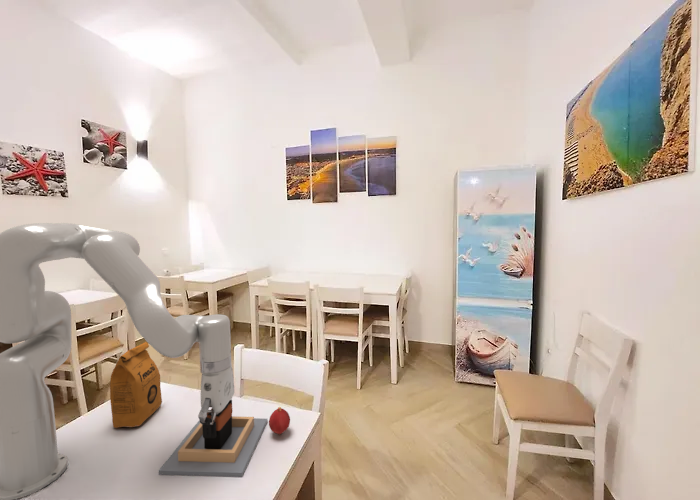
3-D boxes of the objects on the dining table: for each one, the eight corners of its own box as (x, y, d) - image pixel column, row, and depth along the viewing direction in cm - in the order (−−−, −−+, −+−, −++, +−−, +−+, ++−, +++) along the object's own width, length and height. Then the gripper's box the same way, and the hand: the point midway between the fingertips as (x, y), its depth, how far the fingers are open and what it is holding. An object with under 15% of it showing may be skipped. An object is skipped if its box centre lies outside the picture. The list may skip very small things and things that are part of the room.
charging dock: (158, 474, 73) (157, 460, 73) (201, 420, 93) (201, 409, 93) (242, 476, 73) (241, 462, 72) (267, 421, 93) (267, 410, 92)
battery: (232, 433, 86) (232, 399, 85) (219, 451, 79) (219, 415, 78) (217, 431, 86) (217, 397, 85) (203, 449, 80) (203, 412, 79)
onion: (267, 430, 89) (266, 404, 88) (286, 424, 91) (286, 398, 91) (272, 443, 84) (271, 415, 83) (292, 436, 86) (292, 409, 86)
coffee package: (168, 405, 101) (164, 340, 99) (139, 431, 88) (134, 357, 86) (139, 404, 101) (134, 339, 99) (106, 429, 89) (100, 356, 87)
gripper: (214, 380, 72) (217, 448, 74) (242, 349, 89) (244, 405, 91) (183, 379, 72) (186, 448, 74) (217, 349, 90) (219, 405, 91)
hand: (218, 424), depth 82 cm, fingers open, 9 cm apart
